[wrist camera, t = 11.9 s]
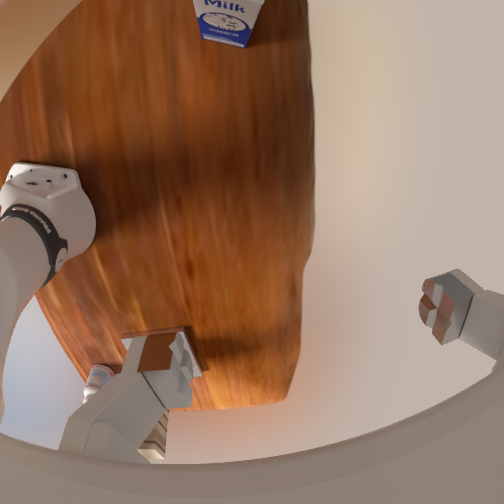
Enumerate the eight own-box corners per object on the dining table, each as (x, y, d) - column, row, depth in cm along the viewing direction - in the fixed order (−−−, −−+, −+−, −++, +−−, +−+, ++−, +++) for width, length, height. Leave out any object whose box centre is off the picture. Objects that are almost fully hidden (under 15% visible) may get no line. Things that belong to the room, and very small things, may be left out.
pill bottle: (114, 382, 61) (104, 416, 51) (92, 374, 59) (80, 408, 49) (115, 368, 59) (105, 404, 49) (92, 360, 57) (79, 395, 47)
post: (153, 387, 51) (143, 458, 36) (145, 374, 50) (131, 448, 34) (172, 386, 52) (165, 459, 36) (164, 373, 50) (154, 449, 34)
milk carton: (259, 14, 32) (286, -50, 14) (246, 48, 34) (266, -4, 16) (214, 3, 30) (212, -65, 12) (200, 38, 33) (186, -20, 15)
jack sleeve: (147, 376, 60) (139, 417, 50) (122, 334, 54) (108, 376, 43) (202, 371, 61) (201, 414, 50) (183, 326, 54) (178, 371, 44)
